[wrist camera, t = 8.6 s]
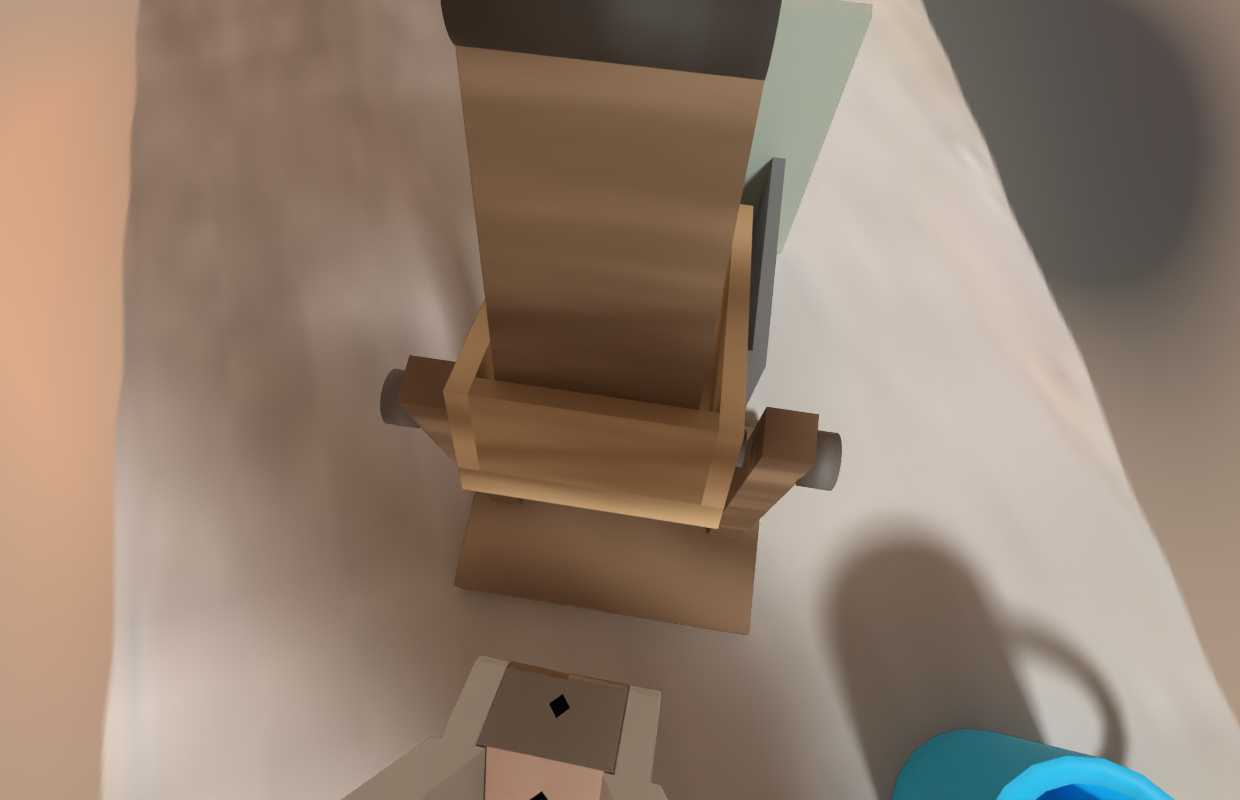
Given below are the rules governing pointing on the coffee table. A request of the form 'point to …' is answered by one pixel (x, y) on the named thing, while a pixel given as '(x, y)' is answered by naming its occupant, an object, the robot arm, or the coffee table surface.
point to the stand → (624, 524)
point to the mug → (1014, 772)
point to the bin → (793, 138)
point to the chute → (609, 249)
